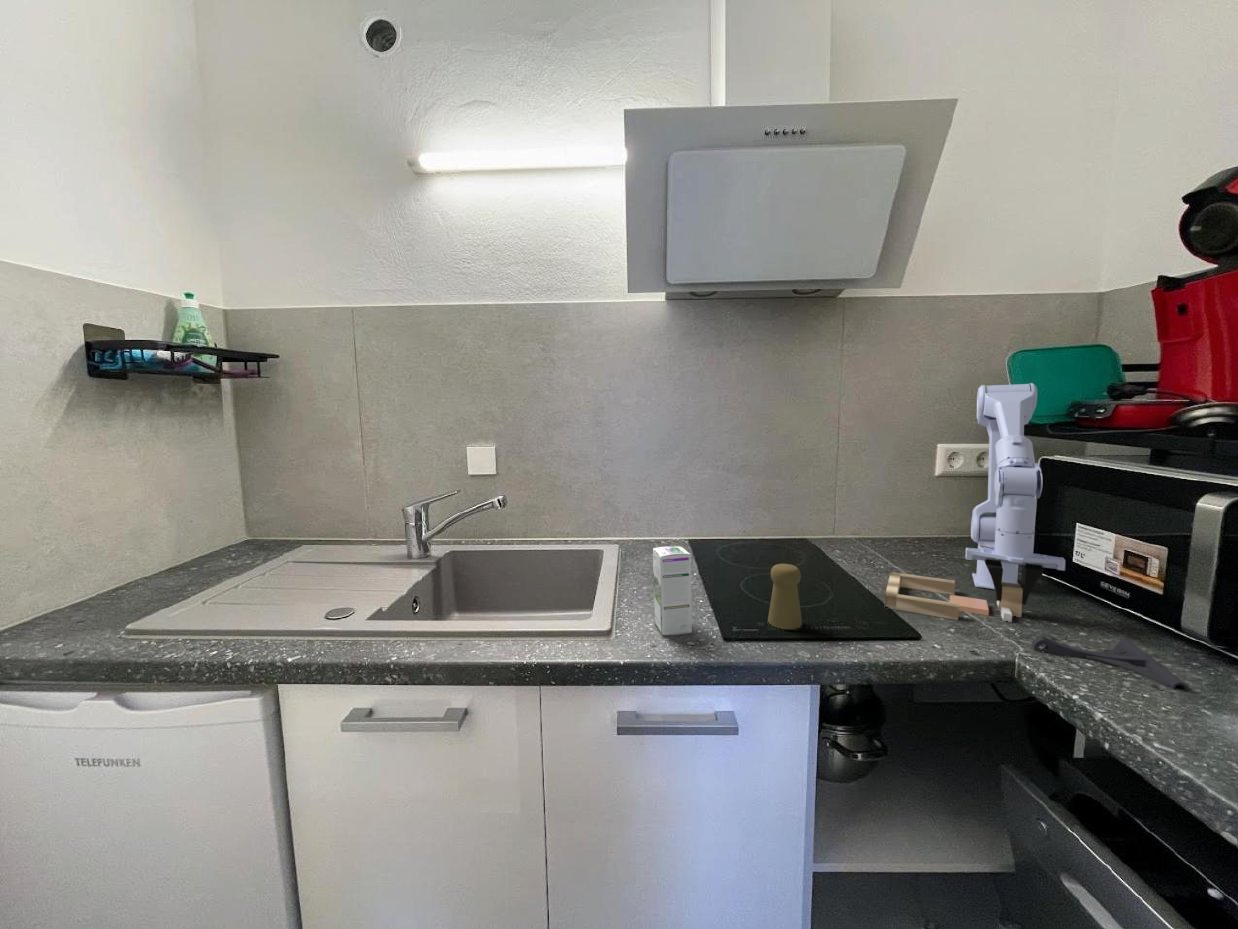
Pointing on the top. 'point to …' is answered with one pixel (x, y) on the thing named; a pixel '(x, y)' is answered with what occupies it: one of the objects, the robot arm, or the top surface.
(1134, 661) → the bracket
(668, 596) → the syrup box
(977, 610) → the terracotta tile
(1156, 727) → the top surface
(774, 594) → the cork
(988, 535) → the robot arm
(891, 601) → the tile rest
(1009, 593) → the wood block with post
